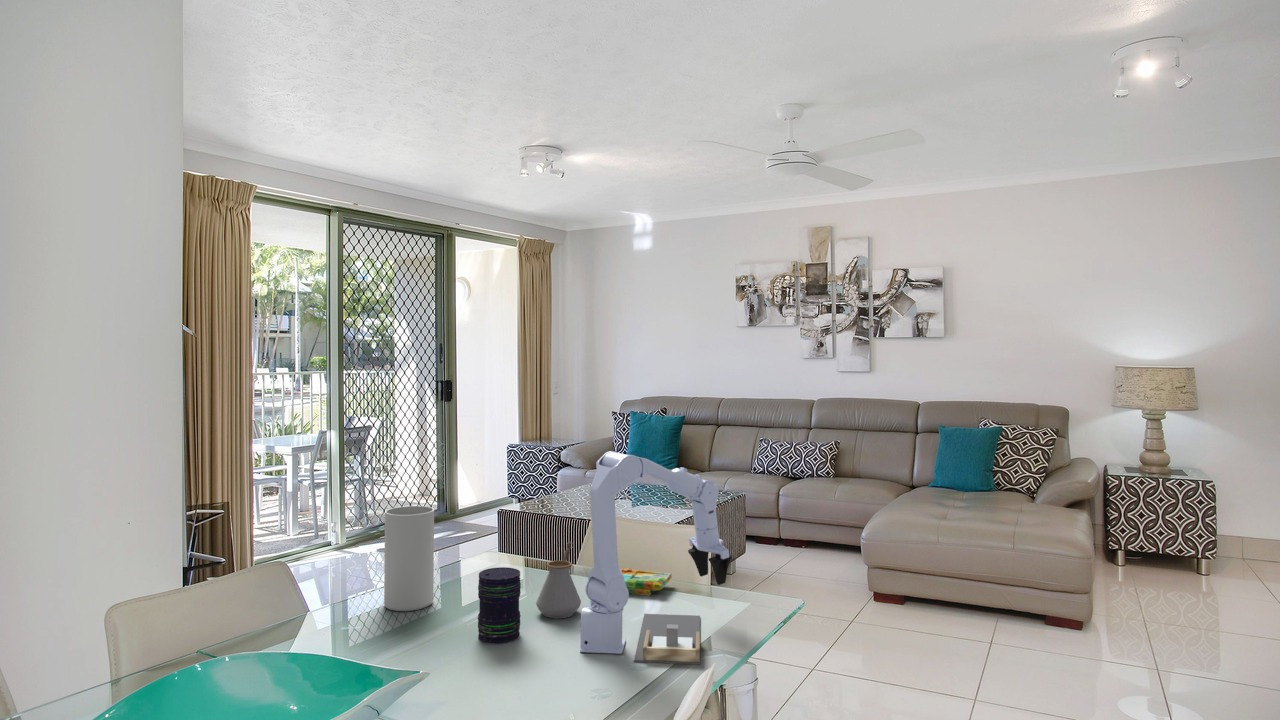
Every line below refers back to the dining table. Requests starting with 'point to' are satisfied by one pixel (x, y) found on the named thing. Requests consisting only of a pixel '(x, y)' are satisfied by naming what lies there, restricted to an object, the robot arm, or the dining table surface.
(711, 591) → the dining table surface
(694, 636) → the rubber mat
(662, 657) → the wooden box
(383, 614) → the dining table surface
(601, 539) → the robot arm
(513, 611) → the storage jar
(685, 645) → the cover plate
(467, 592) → the dining table surface
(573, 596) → the grey faceted twig vase
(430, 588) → the cylinder vase
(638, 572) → the puzzle game
